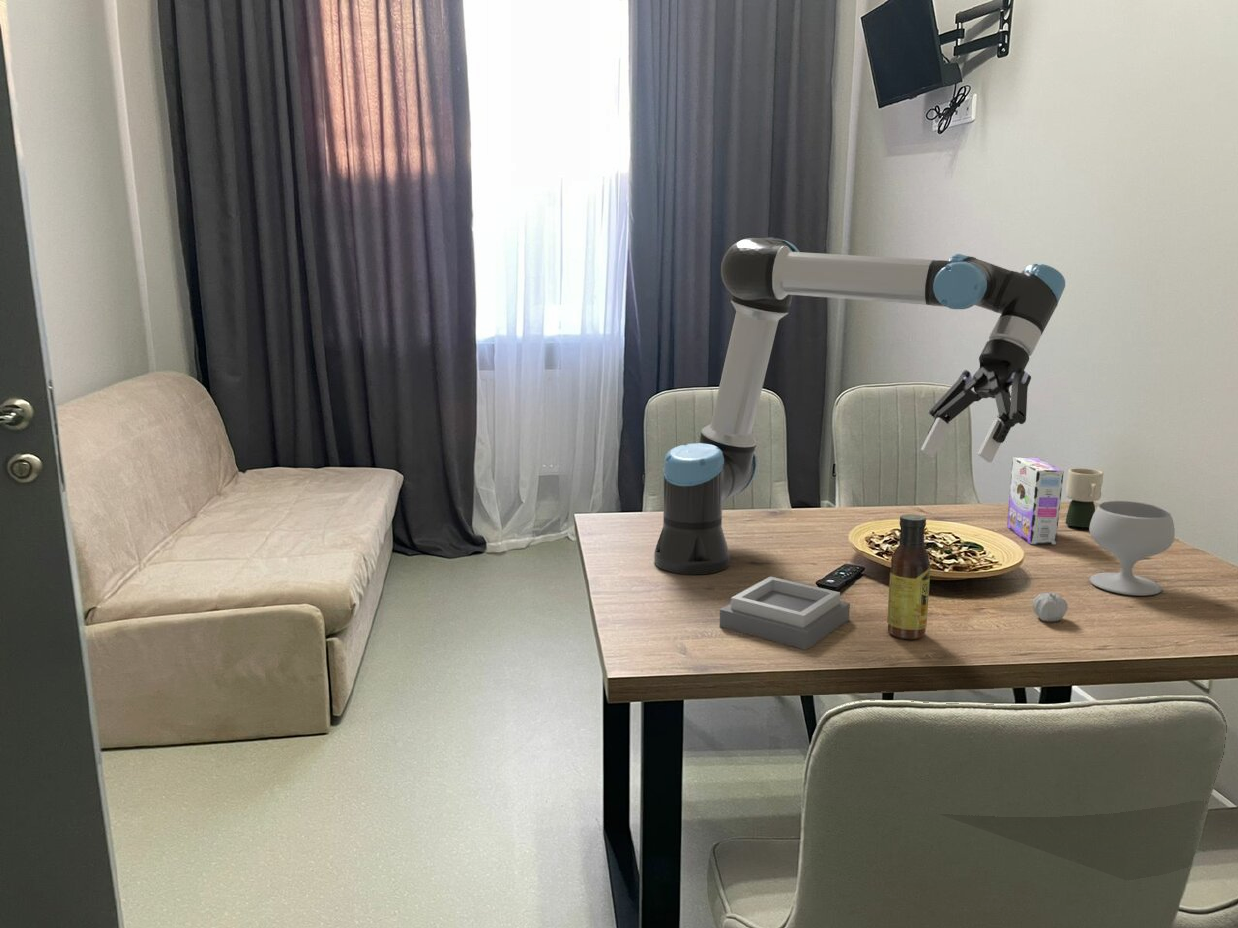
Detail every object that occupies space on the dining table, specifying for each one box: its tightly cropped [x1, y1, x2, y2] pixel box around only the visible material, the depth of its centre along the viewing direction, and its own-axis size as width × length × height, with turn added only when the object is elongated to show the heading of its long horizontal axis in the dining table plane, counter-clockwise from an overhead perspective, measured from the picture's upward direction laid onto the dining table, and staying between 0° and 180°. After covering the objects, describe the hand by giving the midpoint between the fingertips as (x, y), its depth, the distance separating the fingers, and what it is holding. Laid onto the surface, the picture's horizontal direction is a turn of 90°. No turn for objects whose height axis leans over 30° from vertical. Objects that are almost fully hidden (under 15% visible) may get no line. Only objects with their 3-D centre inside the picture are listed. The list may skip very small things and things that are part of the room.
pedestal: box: [719, 576, 851, 651], centre depth 163 cm, size 16×16×5 cm
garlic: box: [1032, 591, 1069, 622], centre depth 165 cm, size 6×5×5 cm
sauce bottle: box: [886, 513, 931, 641], centre depth 157 cm, size 7×6×20 cm
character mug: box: [1064, 467, 1104, 529], centre depth 218 cm, size 11×7×13 cm, turn 178°
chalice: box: [1088, 500, 1176, 597], centre depth 179 cm, size 14×14×15 cm
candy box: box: [1006, 457, 1065, 546], centre depth 211 cm, size 14×6×16 cm, turn 179°
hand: (954, 456), depth 162 cm, fingers open, 13 cm apart
